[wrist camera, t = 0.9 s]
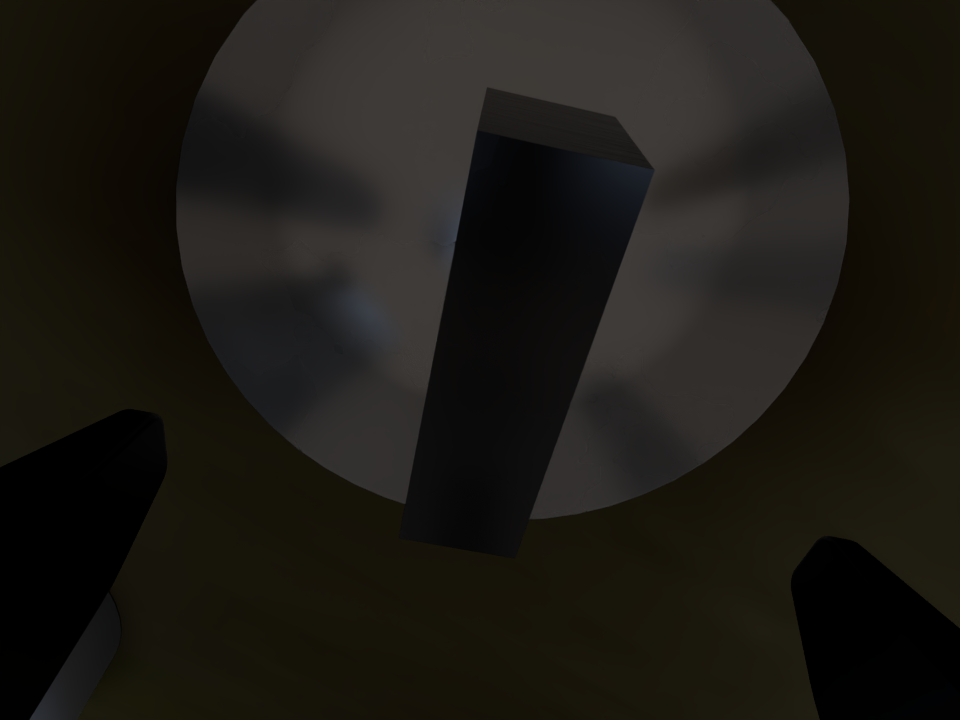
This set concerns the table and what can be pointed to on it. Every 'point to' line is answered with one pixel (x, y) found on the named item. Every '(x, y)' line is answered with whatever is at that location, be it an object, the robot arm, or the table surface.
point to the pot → (83, 666)
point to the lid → (511, 241)
